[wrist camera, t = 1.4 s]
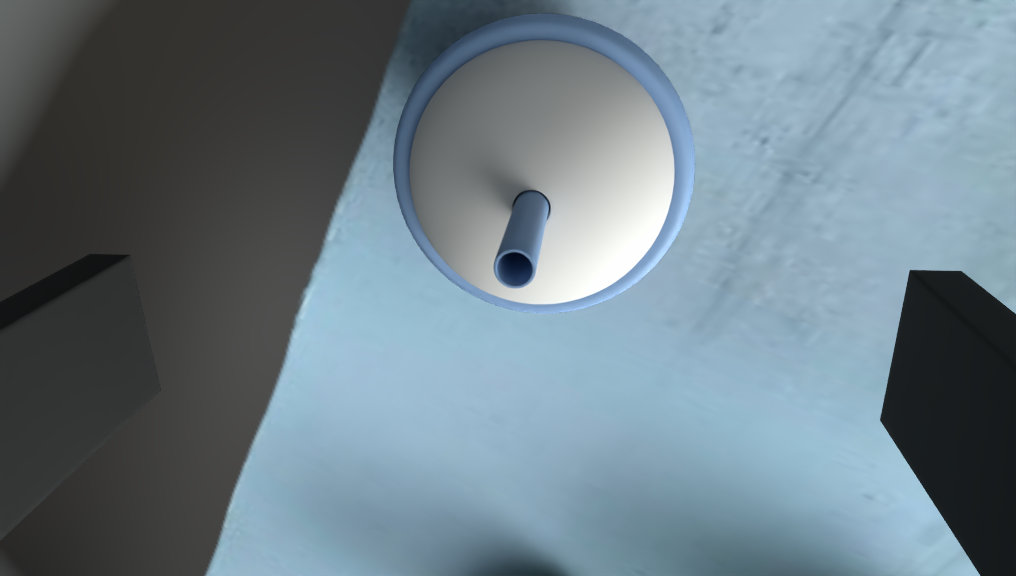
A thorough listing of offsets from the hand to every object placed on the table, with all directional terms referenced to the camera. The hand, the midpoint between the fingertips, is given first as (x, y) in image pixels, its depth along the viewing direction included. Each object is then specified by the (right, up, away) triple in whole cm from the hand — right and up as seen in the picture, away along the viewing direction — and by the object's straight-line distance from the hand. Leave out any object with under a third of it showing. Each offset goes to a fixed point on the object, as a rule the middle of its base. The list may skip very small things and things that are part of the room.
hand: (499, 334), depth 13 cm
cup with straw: (+2, +8, +19) cm, 21 cm away
